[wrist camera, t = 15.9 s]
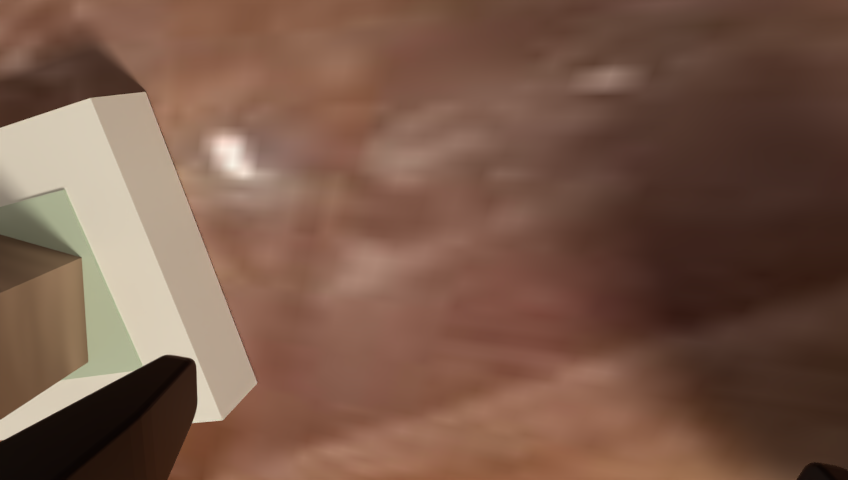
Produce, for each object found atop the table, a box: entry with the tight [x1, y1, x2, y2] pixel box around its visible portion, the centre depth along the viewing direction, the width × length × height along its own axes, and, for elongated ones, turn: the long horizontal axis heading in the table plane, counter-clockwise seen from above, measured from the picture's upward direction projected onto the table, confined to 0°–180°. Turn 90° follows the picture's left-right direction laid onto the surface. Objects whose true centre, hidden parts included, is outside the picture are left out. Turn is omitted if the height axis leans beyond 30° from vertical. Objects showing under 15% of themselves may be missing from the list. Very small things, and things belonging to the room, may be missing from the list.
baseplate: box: [0, 92, 257, 440], centre depth 22 cm, size 12×12×3 cm
